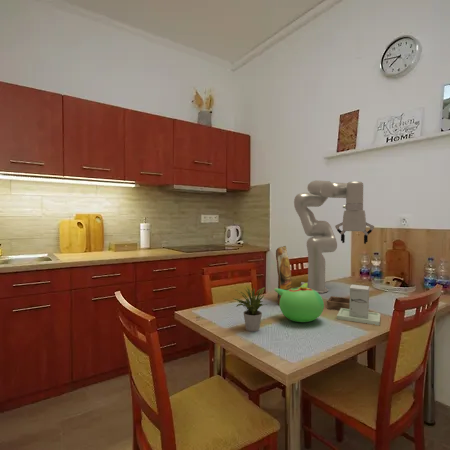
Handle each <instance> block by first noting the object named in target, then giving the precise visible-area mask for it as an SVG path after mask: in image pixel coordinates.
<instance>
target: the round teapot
mask: <svg viewBox="0 0 450 450" xmlns="http://www.w3.org/2000/svg"><path fill="white" fill-rule="evenodd" d="M307 286H308V283H306V282H305V284H303V285H300V286H295V287H292V288H291V289H289V290H283V289H278V287H275V288H274V289H273V290H274V292H276V294H277V295H278V294H279V295H281V298H280V302H279V309H280V311H281V314H283V316H285V317H286V318H287V319H288V320H291V321H292V322H297V323H308V322H312V321H315V320H316V319H318V318H319V317H321V315H322V314H323V312H324V309H325V304H324V299H323V298H322V295H321V294H320V293H318V292H316V291H315V290H313V289H310V288H307Z"/></svg>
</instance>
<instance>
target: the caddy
mask: <svg viewBox="0 0 450 450" xmlns="http://www.w3.org/2000/svg"><path fill="white" fill-rule="evenodd" d="M326 304H327V305H326V309H327V310H332V311H333V310H334V311H340V309H341V308H345V309H349V305H350V297H349V298H348V297H340V296H333V295H331V296H330V297H329V298H328V300H327V301H326Z"/></svg>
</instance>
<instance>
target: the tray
mask: <svg viewBox="0 0 450 450" xmlns="http://www.w3.org/2000/svg"><path fill="white" fill-rule="evenodd" d="M336 319H337V320H342V321H349V322H353V323H354V322H355V323H361V324H366V323H367V325H373V324H375V325H374V326H379V325H380V323H381V312H380V313H379V312H373V311H369V314H368V319H363V318H356V317H349V309H345V308H341V309H340V310H338V313H337V314H336Z"/></svg>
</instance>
